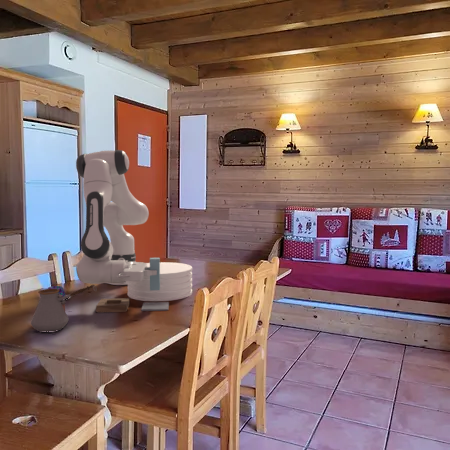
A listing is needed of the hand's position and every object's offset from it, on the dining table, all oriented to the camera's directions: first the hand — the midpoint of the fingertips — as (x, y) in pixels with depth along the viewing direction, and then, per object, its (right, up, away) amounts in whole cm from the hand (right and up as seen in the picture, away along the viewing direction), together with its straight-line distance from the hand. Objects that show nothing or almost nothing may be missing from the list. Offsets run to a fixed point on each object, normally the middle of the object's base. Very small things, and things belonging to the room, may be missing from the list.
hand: (157, 271), depth 176 cm
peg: (-1, -7, 0) cm, 7 cm away
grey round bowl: (-44, -13, +14) cm, 48 cm away
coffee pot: (-26, -17, -26) cm, 41 cm away
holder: (-17, -14, 0) cm, 22 cm away
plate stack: (-2, -12, +25) cm, 28 cm away
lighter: (-32, -16, -18) cm, 40 cm away
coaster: (-1, -14, +1) cm, 14 cm away
